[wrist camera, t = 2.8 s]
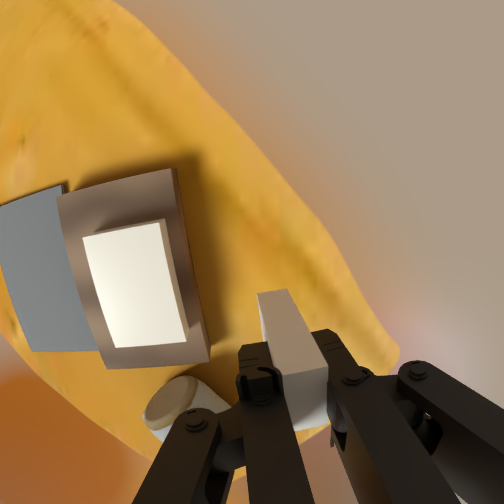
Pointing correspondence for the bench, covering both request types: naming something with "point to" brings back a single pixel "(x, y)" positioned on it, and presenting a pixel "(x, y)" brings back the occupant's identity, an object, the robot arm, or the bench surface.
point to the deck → (122, 214)
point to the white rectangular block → (137, 284)
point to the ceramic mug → (179, 403)
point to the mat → (42, 275)
